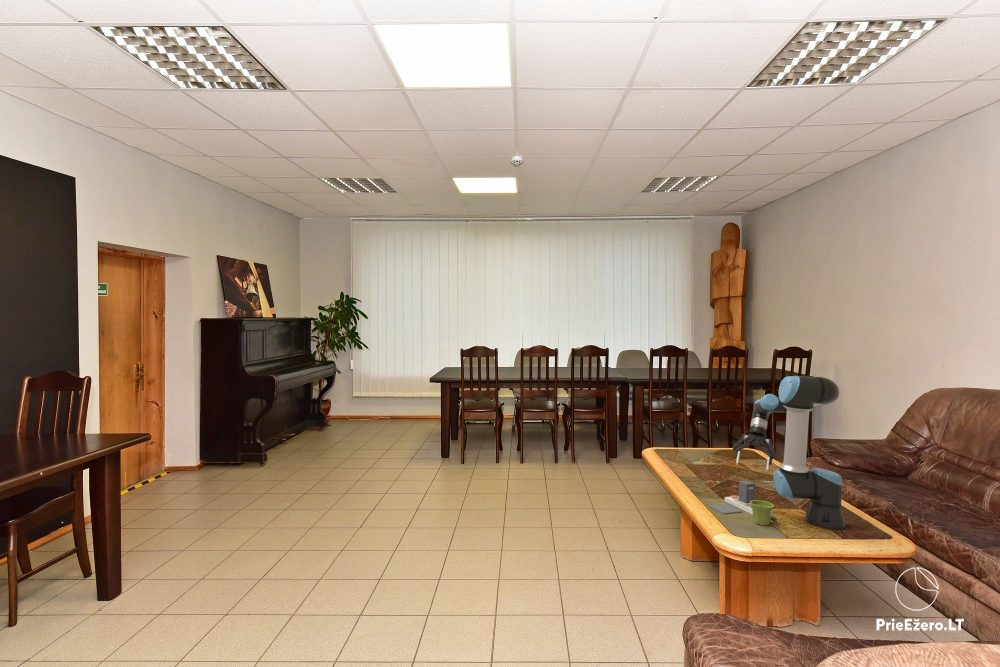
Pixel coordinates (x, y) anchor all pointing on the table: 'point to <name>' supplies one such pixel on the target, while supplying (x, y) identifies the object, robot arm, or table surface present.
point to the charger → (746, 491)
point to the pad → (725, 509)
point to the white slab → (743, 505)
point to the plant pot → (761, 511)
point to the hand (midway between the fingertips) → (751, 467)
